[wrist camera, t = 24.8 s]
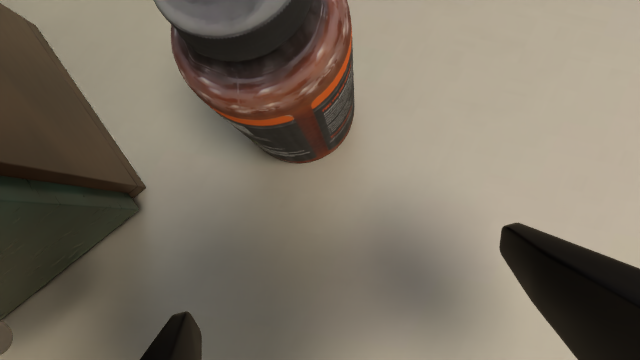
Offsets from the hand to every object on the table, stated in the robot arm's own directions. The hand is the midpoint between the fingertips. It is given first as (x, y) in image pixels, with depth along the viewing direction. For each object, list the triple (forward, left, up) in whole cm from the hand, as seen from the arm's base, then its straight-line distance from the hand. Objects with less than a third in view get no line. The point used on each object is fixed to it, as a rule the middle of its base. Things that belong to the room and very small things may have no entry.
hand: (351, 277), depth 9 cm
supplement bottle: (+8, -3, -9) cm, 12 cm away
